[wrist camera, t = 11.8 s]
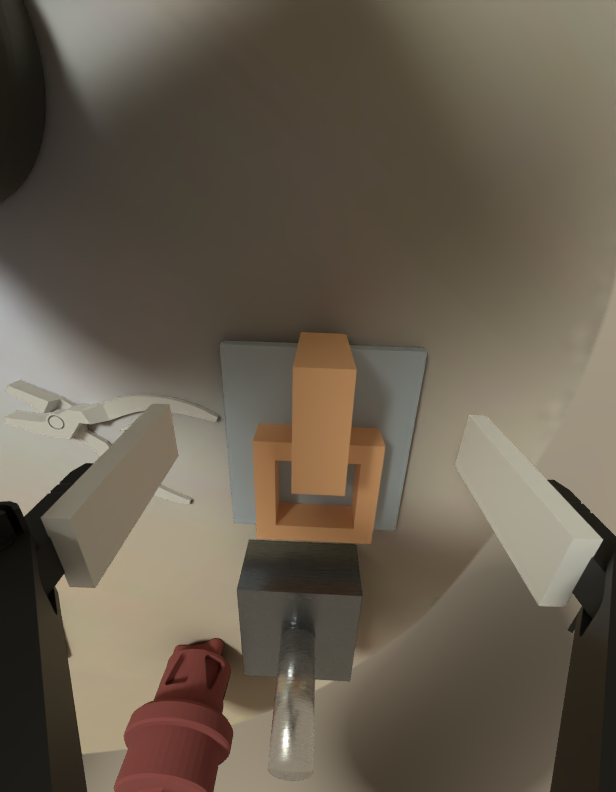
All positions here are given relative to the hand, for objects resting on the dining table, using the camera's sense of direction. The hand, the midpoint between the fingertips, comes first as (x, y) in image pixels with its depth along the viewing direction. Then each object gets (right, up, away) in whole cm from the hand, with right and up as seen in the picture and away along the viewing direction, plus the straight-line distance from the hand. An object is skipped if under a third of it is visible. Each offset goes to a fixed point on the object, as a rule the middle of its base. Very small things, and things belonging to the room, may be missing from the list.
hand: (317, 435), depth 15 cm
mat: (0, -2, +12) cm, 12 cm away
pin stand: (-1, -17, +19) cm, 26 cm away
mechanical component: (-12, -28, +24) cm, 39 cm away
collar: (0, -1, +10) cm, 10 cm away
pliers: (-16, -1, +13) cm, 20 cm away
